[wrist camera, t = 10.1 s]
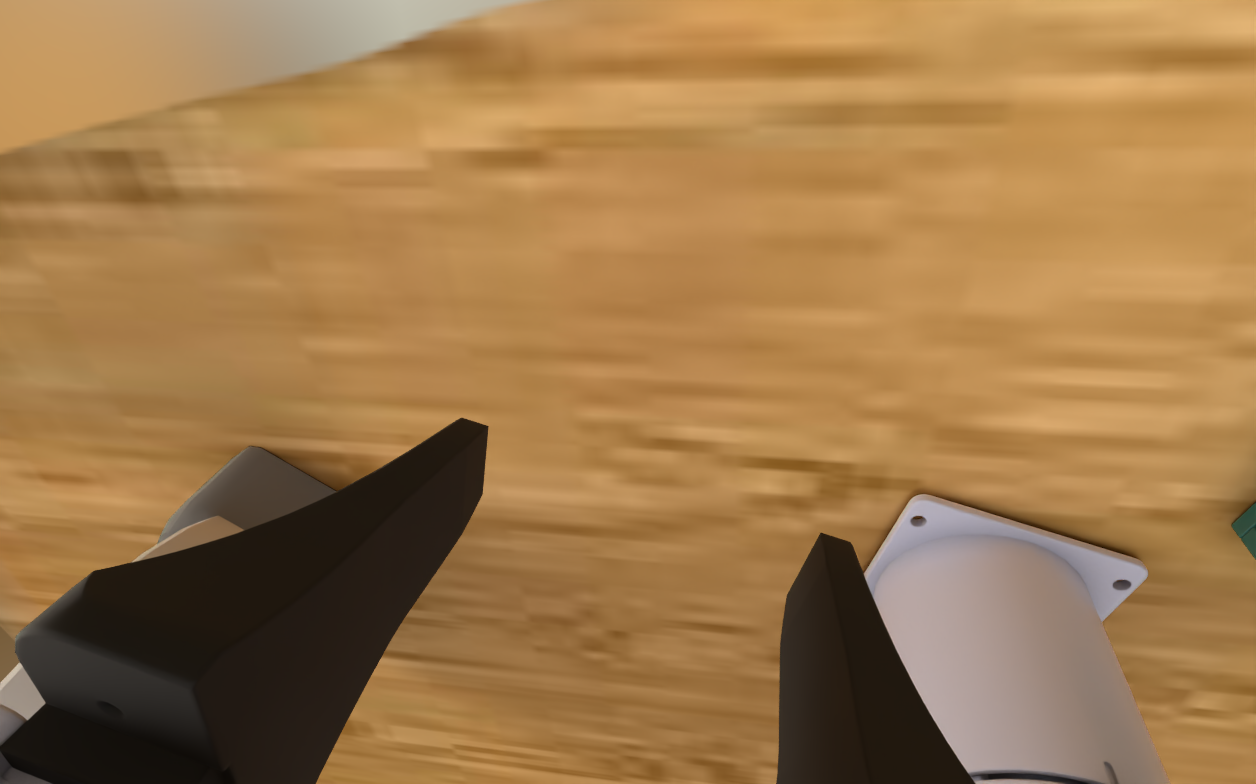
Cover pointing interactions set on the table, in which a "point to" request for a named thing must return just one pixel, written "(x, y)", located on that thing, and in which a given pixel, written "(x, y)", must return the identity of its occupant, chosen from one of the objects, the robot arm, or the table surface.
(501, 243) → the table surface
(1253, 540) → the tray
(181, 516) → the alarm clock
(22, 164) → the table surface
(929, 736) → the robot arm
